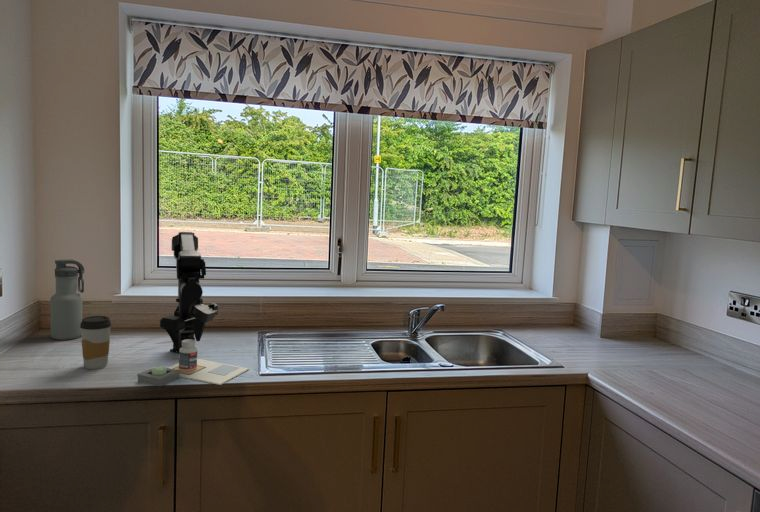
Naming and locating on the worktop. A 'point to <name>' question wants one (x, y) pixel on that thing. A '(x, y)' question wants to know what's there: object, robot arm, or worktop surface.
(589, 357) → the worktop surface
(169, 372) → the button housing
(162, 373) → the button
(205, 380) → the picture board
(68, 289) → the water bottle
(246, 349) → the worktop surface
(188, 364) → the pill bottle
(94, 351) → the coffee cup
